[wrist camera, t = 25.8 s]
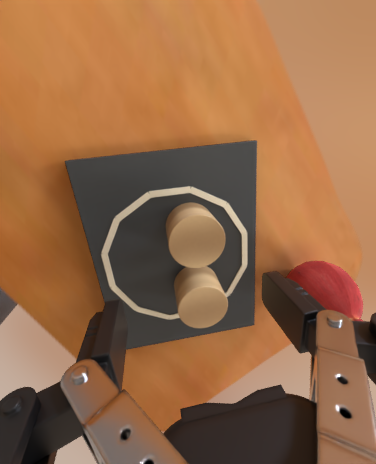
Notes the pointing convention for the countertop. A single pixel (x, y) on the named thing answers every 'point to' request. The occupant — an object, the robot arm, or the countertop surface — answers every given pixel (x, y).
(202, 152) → the slate board
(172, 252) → the dot
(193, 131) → the countertop surface
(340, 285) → the onion
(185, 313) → the dot
